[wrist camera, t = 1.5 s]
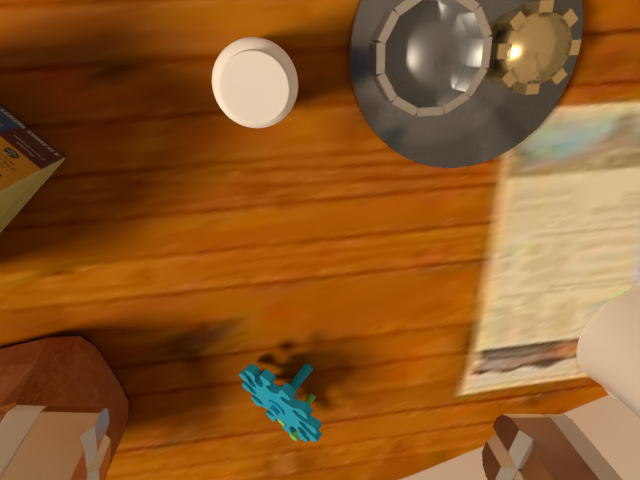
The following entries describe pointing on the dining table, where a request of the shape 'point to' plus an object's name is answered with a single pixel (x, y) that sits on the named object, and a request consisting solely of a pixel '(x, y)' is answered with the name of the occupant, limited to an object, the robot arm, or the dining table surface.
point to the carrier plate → (461, 72)
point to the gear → (283, 401)
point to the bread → (62, 380)
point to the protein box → (22, 165)
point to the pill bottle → (255, 82)
